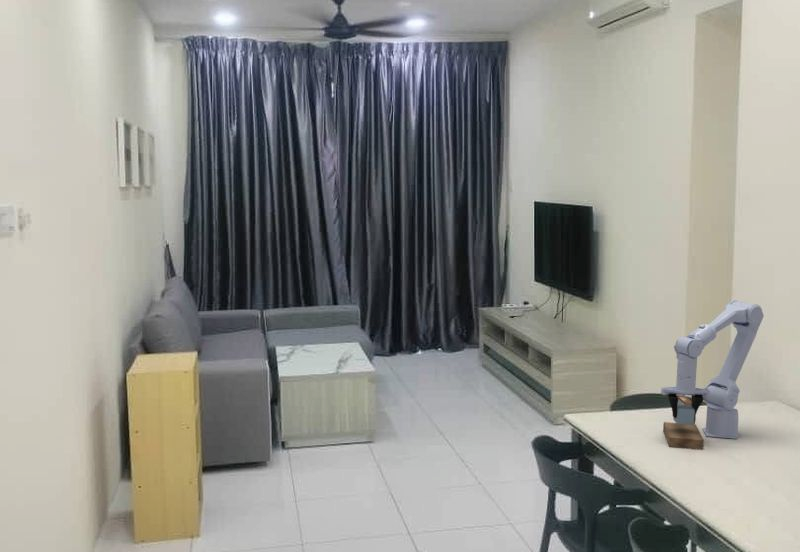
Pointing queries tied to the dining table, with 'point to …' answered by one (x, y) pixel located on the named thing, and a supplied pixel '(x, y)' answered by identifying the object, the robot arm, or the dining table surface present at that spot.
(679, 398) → the tin
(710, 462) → the dining table surface
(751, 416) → the dining table surface
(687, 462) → the dining table surface
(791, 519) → the dining table surface
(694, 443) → the plinth
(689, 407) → the block
